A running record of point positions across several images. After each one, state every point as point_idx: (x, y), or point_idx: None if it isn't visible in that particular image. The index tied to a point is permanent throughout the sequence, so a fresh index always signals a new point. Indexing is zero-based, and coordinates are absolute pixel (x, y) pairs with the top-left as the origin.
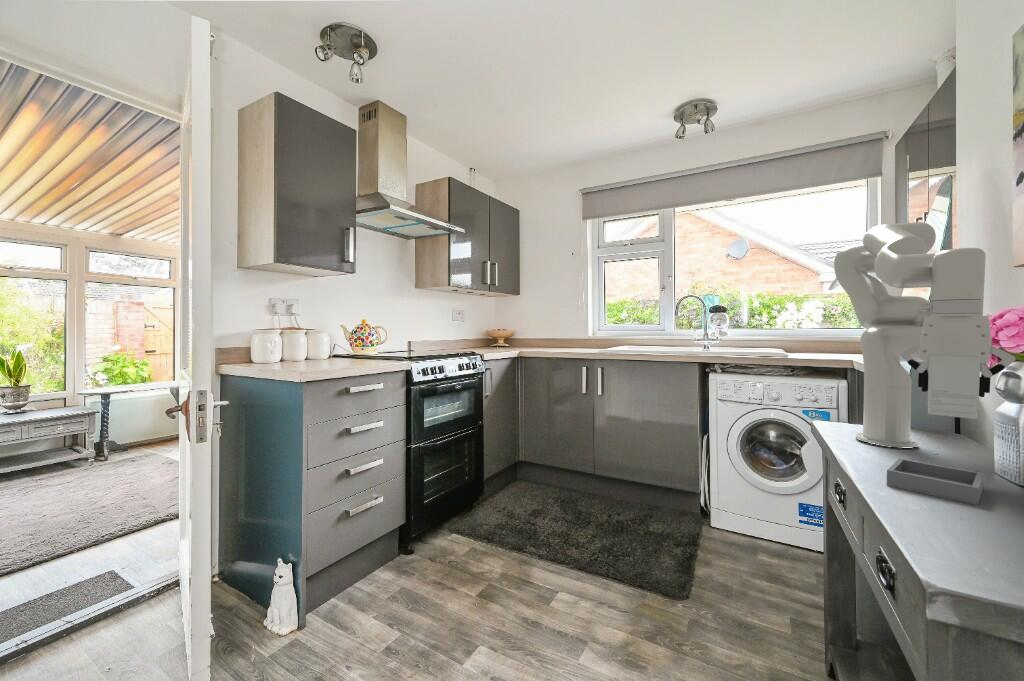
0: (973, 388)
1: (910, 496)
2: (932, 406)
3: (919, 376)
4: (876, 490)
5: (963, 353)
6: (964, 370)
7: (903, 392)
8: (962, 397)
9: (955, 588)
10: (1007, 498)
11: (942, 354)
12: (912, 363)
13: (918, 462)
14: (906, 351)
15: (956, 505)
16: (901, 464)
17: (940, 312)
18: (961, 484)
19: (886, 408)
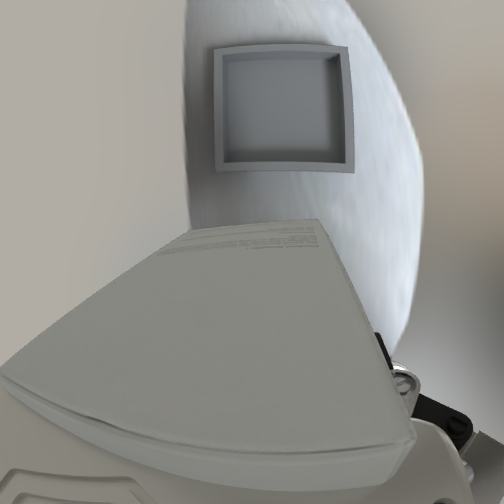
0: (145, 266)
1: (300, 26)
2: (309, 225)
3: (388, 365)
4: (343, 21)
5: (47, 445)
6: (120, 317)
7: None
8: (201, 246)
9: None
10: (192, 139)
11: (240, 494)
12: (450, 421)
13: (318, 162)
14: (502, 486)
15: (244, 34)
16: (344, 141)
17: None
18: (235, 47)
19: None
